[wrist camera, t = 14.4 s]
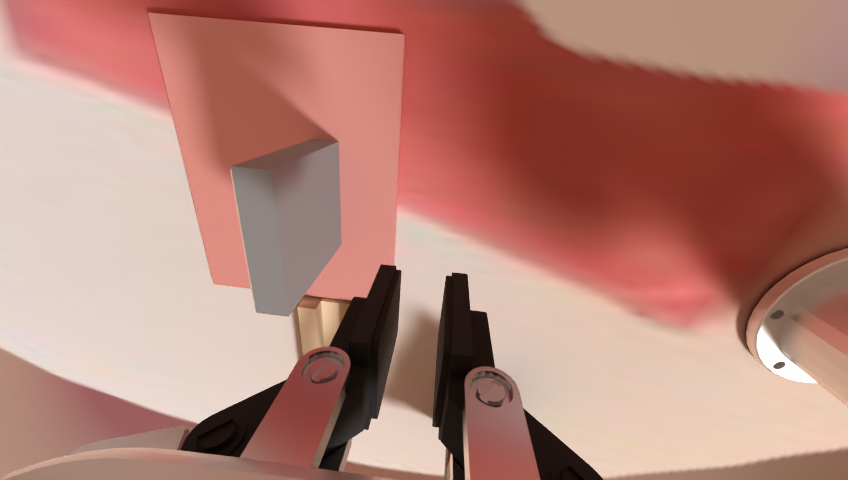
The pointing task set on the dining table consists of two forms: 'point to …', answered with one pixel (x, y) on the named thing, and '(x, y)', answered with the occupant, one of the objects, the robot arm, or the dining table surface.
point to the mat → (287, 128)
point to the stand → (319, 321)
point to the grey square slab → (288, 220)
